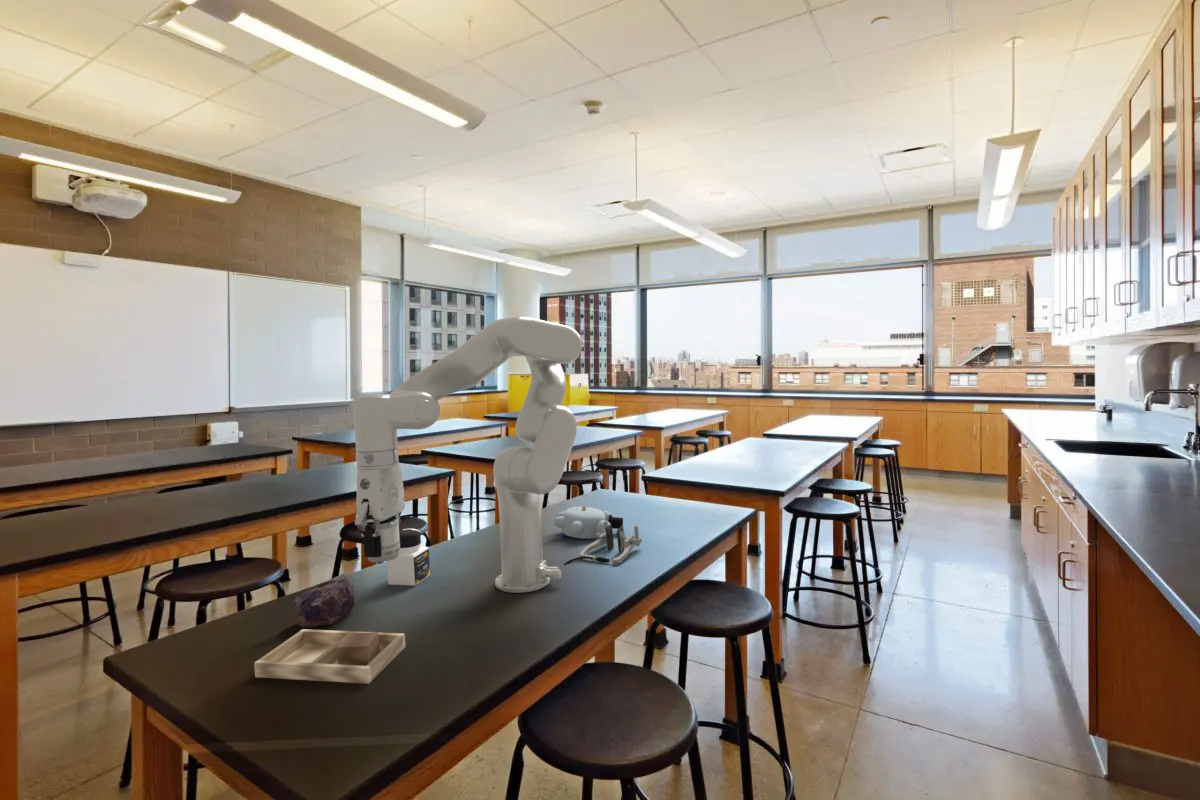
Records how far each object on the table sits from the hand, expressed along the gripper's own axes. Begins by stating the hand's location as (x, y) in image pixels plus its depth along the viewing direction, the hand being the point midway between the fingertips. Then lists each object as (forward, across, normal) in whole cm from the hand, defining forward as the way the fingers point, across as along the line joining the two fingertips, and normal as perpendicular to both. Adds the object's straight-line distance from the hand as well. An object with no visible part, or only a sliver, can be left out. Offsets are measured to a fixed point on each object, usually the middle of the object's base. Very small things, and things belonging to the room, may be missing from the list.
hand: (383, 549), depth 112 cm
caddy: (+15, -15, +2) cm, 21 cm away
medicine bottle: (+16, +24, +8) cm, 30 cm away
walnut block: (+15, -14, -3) cm, 21 cm away
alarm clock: (+16, +64, -29) cm, 72 cm away
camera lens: (+2, 0, 0) cm, 2 cm away
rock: (+16, +2, +13) cm, 20 cm away
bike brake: (+16, +44, -37) cm, 60 cm away
